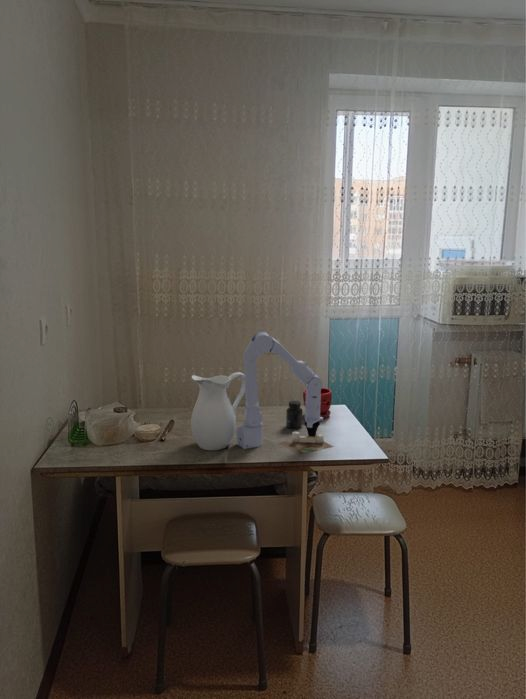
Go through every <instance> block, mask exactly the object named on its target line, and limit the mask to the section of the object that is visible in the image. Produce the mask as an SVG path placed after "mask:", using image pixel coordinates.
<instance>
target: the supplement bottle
mask: <svg viewBox="0 0 526 699" xmlns="http://www.w3.org/2000/svg"><path fill="white" fill-rule="evenodd" d="M285 411H286V415H285V418H286V419H285V428H286V429H289V430H301V429H302V428H303V413H304V412H303V408H301V402H300V401H298V400H290V401H288V408H286V410H285Z"/></svg>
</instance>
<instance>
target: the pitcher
mask: <svg viewBox="0 0 526 699" xmlns="http://www.w3.org/2000/svg"><path fill="white" fill-rule="evenodd" d="M238 377H239V378H241V387H240V390H239V393H238V394H237V397H236V398H235V400H234V401H233V404H232V403H231V401H230V399H229V396H228V393H227V389H229V388H230V384H231V382H232V381H233V380H234V379H235V378H238ZM191 379H192V381H193V382H195V383H196V384H197V386H198V388H199V392H198V396H197V399H196V401H195V404H194V406H193V410H192V413H191V421H190V426H191V427H190V428H191V434H192V437H193V439H194V441H195V443H196V444H197V446H198V447H199V448H200V449H202V450H205V451H220V450H224V449H225V448H227V447H228V446H229V445H230V443H231V441H232V440H233V437H234V435H235V432H236V425H237V424H236V420H237V415H236V409H238V408H237V407H238V406H239V403H240V402H241V400H242V398H243V396H244V394H246V388H245V373H243V372H239V371H237V372H233V373H231V374H230V375H228V376H227V375H221V374H220V375H215V376H212V377H201V376H199V375H191Z"/></svg>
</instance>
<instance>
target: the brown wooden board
mask: <svg viewBox="0 0 526 699" xmlns="http://www.w3.org/2000/svg"><path fill="white" fill-rule="evenodd" d="M279 444H280V445H281V446H283V447H285V448H287V449H288V450H290V451H292V452H294V453H295V454H297V455H303V454H307V453H312V452H318V451H321V450H326V449H330V448H334V445H332V444H330V443H328V442H327V441H324V442H323V443H312V442H300V441H299V442H292V439H291V440H287V441H286V440H285V441H281V442H279Z"/></svg>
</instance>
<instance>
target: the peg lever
mask: <svg viewBox="0 0 526 699" xmlns="http://www.w3.org/2000/svg"><path fill="white" fill-rule="evenodd" d="M300 433H301V432H299V431H292V436H291V438H292V439H291V440H292V442H299V441H300V442H312V443H323V442H325V441H324V437H325V436H324V434H323V433H322V434H320V433H319V434H318V433H316V435H315V436H308V435H307V436H304V435H301V434H300Z"/></svg>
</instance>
